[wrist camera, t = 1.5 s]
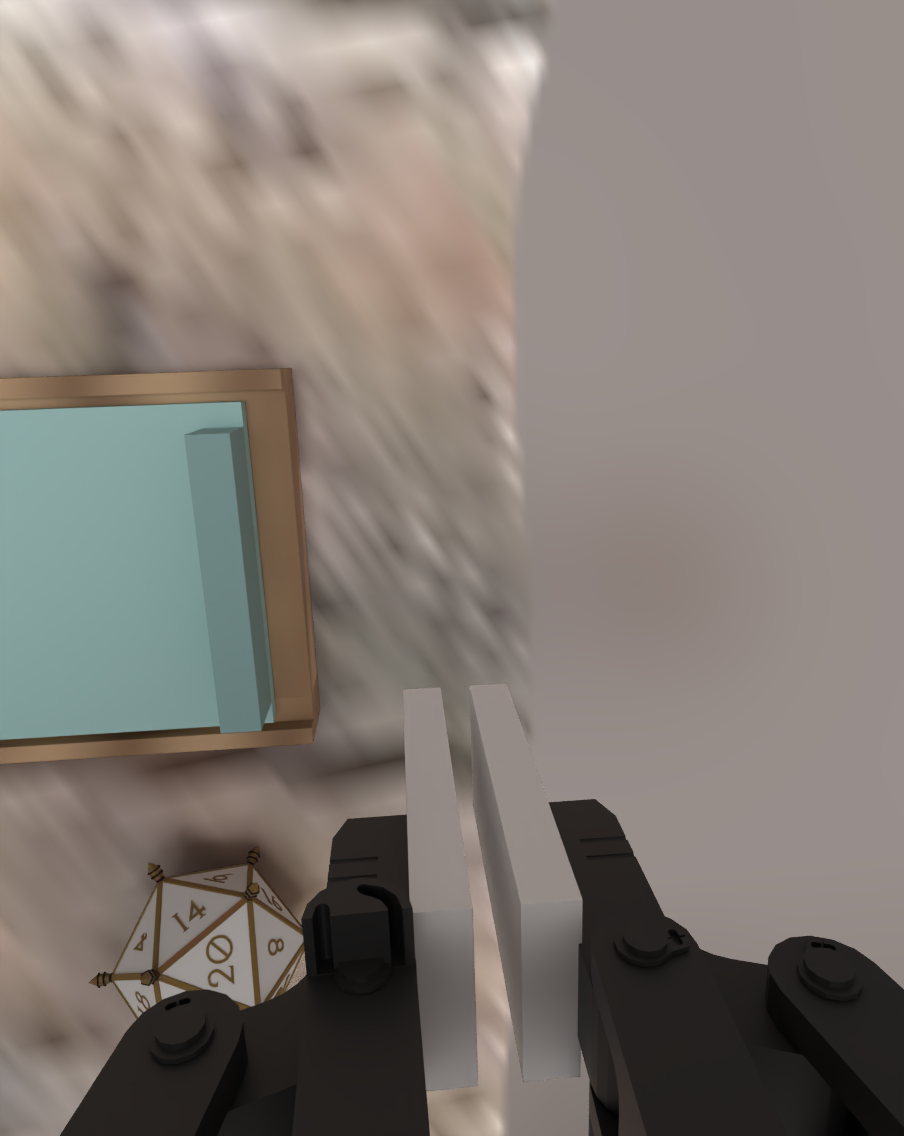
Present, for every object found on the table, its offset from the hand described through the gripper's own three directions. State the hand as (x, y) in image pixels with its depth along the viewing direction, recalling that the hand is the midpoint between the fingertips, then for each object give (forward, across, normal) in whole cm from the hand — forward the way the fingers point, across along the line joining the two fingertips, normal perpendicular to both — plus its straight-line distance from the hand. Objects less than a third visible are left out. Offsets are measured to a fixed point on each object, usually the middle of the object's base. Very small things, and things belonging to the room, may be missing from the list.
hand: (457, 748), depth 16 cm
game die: (+19, -10, -17) cm, 27 cm away
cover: (+16, -14, 0) cm, 21 cm away
